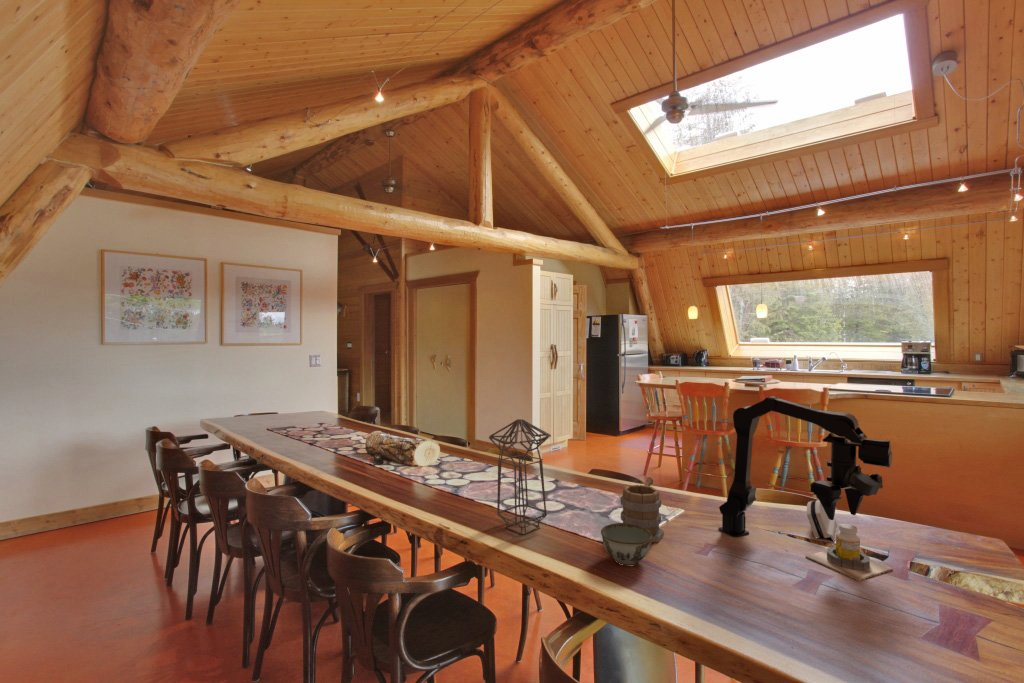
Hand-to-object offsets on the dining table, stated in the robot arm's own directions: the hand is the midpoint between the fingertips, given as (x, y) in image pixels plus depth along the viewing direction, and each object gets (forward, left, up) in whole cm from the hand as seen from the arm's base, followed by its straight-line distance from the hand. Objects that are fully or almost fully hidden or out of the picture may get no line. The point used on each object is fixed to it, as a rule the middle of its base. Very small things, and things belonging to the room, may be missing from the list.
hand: (842, 517), depth 133 cm
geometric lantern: (-71, +56, -12) cm, 91 cm away
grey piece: (+16, +16, -13) cm, 26 cm away
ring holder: (0, -2, -12) cm, 12 cm away
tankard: (-36, +38, -12) cm, 54 cm away
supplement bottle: (0, -1, -12) cm, 12 cm away
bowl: (-54, +23, -12) cm, 60 cm away
